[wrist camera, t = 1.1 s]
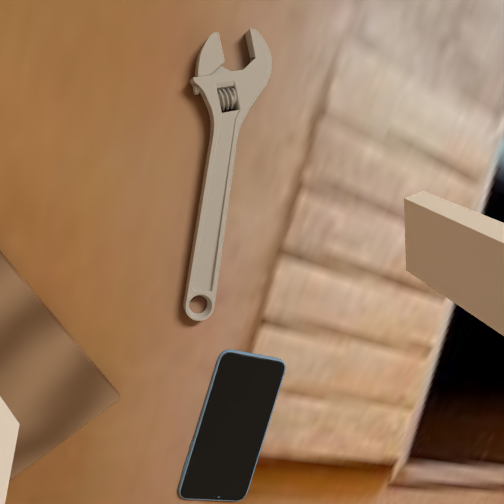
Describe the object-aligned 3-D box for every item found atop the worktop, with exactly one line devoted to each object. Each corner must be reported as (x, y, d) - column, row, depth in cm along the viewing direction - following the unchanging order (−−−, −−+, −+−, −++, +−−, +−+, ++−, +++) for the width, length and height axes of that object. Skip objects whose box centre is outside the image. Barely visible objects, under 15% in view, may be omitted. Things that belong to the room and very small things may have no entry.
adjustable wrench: (208, 317, 39) (213, 323, 38) (138, 308, 37) (140, 314, 35) (270, 48, 38) (279, 41, 36) (202, 19, 35) (207, 11, 33)
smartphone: (289, 361, 42) (245, 503, 42) (285, 358, 43) (243, 497, 43) (221, 348, 39) (175, 501, 39) (218, 345, 40) (173, 495, 40)
